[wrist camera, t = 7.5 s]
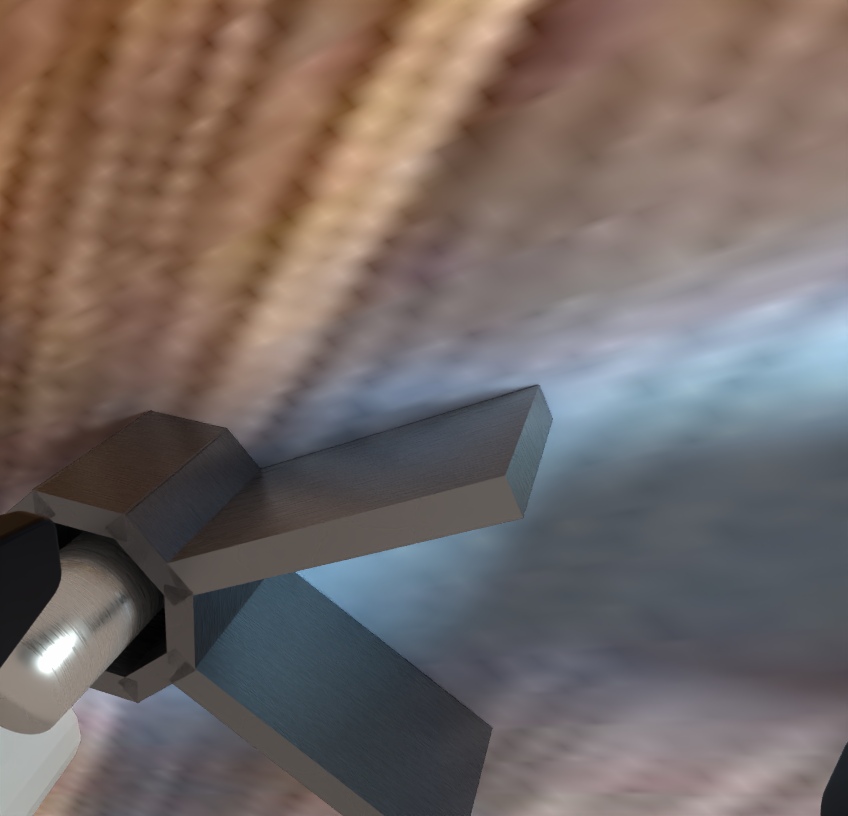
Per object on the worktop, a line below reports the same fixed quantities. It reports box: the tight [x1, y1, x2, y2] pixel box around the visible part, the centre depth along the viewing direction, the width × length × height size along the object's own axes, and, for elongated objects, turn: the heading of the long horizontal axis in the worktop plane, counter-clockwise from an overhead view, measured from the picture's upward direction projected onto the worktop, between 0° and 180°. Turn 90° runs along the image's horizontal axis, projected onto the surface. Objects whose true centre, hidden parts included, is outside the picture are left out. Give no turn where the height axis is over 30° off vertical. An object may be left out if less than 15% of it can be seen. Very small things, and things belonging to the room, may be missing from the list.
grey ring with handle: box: [6, 385, 553, 816], centre depth 21 cm, size 14×13×5 cm
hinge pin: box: [0, 531, 165, 735], centre depth 21 cm, size 3×3×8 cm
